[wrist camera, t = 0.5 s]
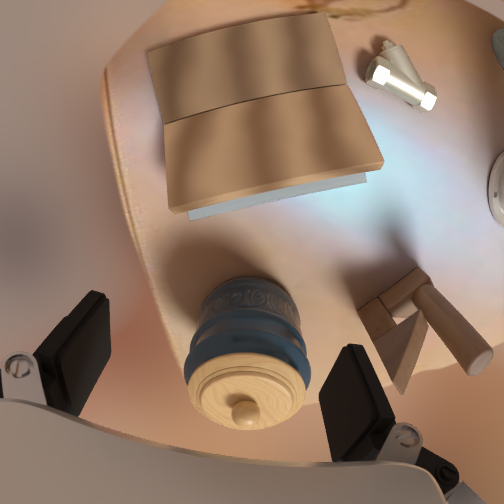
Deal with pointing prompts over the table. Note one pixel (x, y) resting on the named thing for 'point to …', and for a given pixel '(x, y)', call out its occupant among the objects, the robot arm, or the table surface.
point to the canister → (248, 356)
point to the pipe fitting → (400, 77)
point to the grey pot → (499, 45)
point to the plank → (266, 147)
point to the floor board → (245, 65)
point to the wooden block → (420, 328)
